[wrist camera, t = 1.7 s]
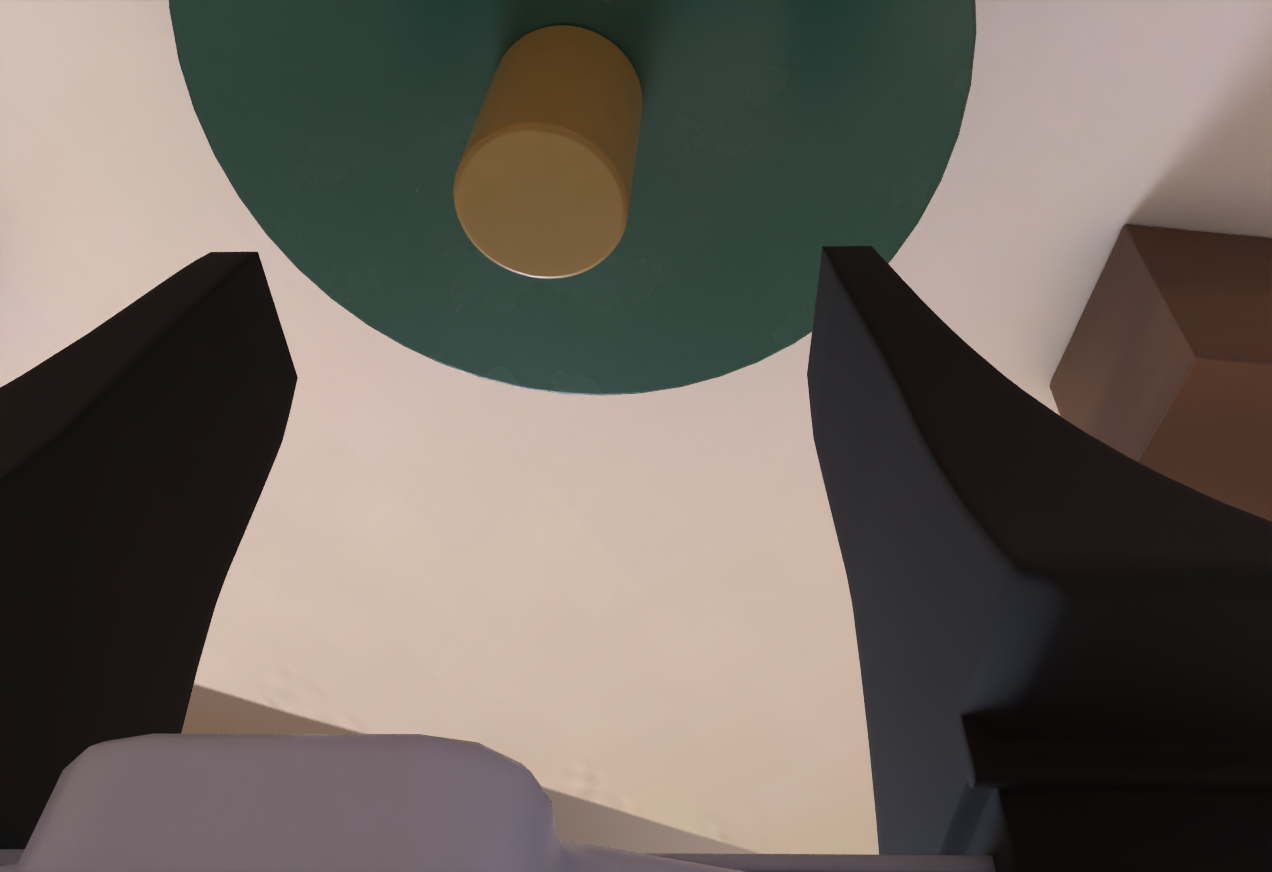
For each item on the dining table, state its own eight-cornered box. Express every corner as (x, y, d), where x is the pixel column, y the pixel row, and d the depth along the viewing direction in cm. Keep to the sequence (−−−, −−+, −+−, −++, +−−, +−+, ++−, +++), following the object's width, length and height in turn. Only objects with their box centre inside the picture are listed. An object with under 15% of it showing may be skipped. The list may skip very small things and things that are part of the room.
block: (1123, 223, 23) (1197, 356, 20) (1336, 244, 23) (1448, 380, 20) (1048, 385, 27) (1099, 524, 23) (1233, 403, 27) (1313, 545, 23)
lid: (27, -300, 14) (-191, -237, 10) (979, -544, 12) (1080, -561, 8) (365, 391, 22) (302, 546, 19) (955, 325, 20) (1001, 488, 17)
